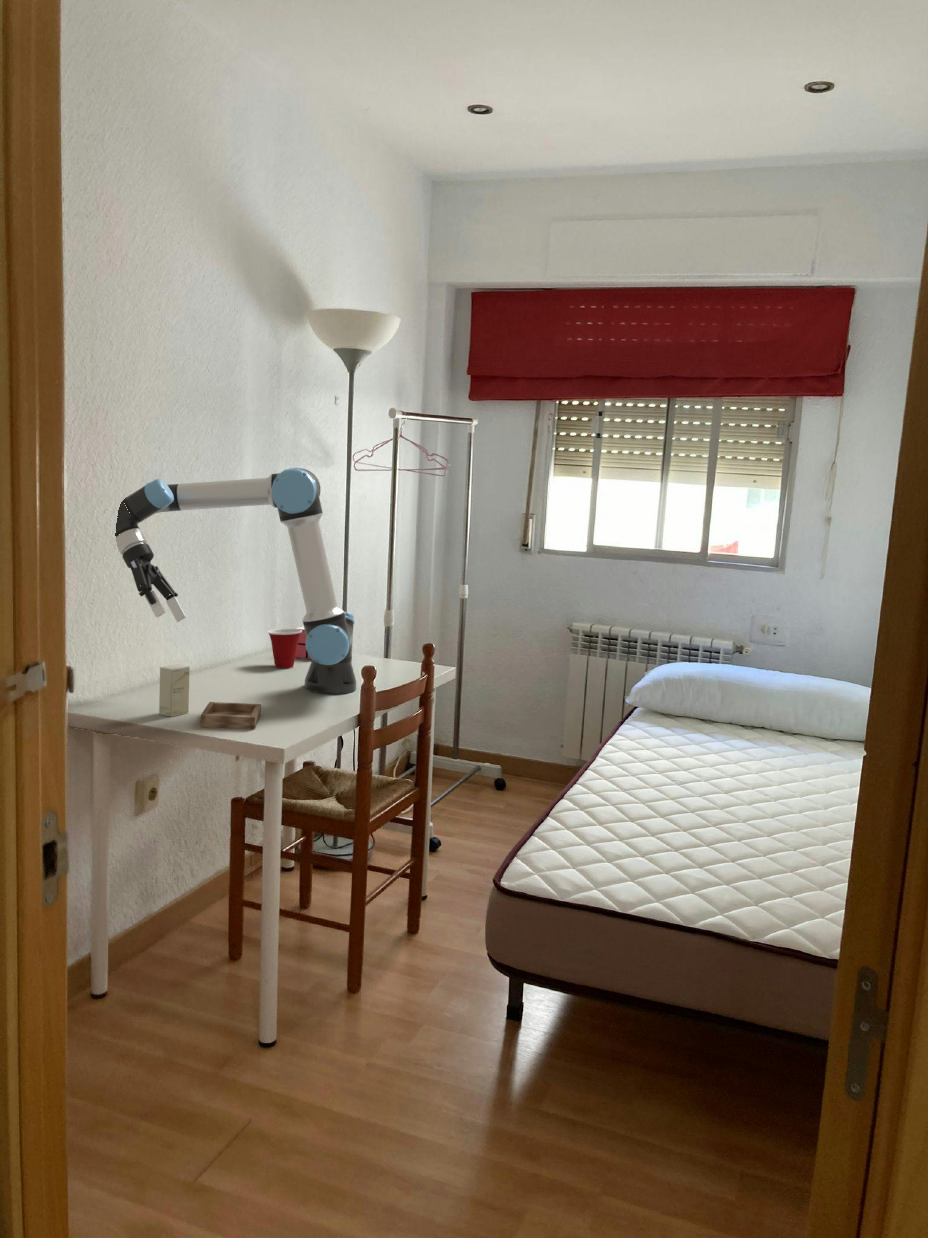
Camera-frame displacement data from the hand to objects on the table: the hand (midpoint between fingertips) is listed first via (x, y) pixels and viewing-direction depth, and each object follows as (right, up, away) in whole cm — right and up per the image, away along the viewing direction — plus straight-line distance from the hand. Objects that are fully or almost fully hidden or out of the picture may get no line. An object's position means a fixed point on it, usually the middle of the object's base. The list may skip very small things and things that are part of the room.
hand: (171, 617), depth 251 cm
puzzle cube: (+26, -13, +71) cm, 77 cm away
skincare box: (+4, -25, -11) cm, 27 cm away
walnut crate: (+19, -26, -14) cm, 35 cm away
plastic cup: (+20, -16, +53) cm, 58 cm away
